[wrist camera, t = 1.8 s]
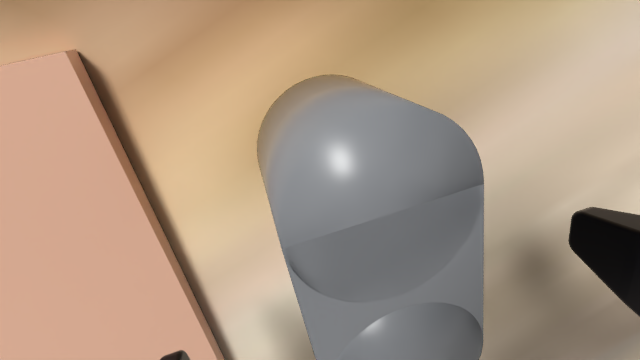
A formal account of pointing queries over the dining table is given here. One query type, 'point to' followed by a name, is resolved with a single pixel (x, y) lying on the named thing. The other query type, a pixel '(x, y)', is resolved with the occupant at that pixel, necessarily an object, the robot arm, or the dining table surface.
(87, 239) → the plate
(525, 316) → the dining table surface
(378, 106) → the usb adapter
